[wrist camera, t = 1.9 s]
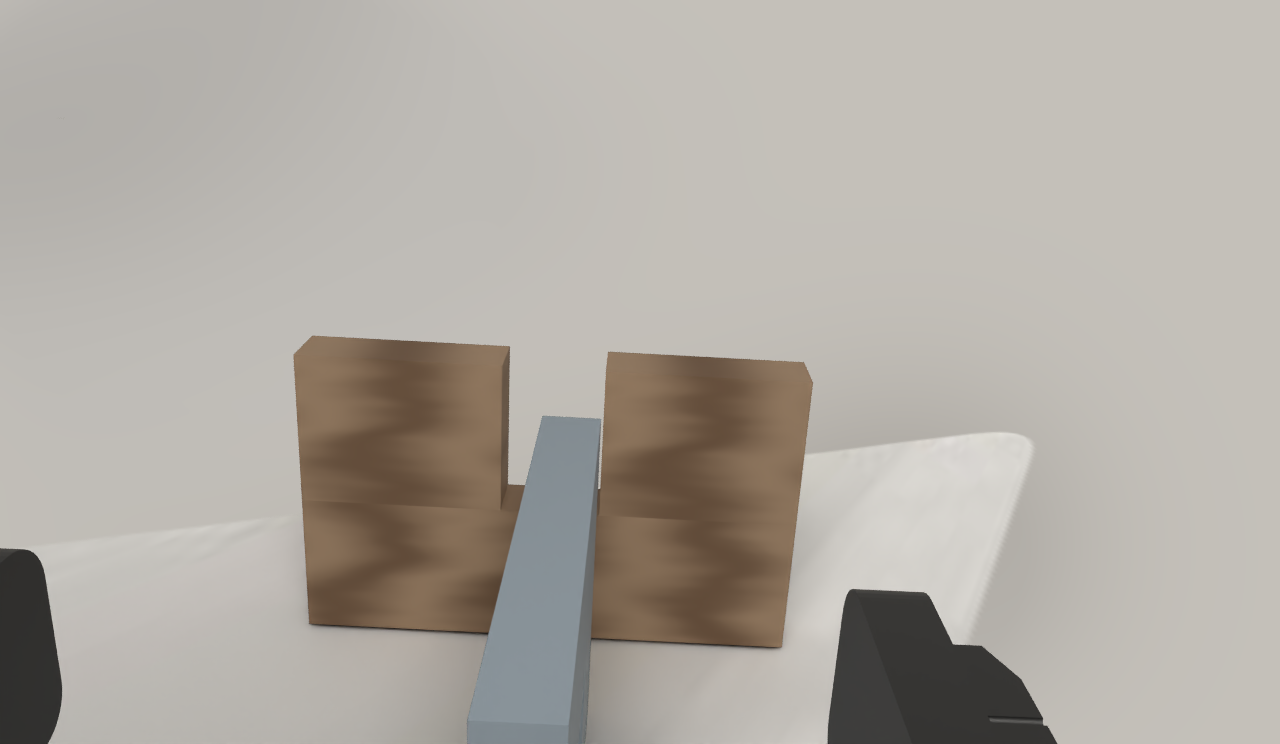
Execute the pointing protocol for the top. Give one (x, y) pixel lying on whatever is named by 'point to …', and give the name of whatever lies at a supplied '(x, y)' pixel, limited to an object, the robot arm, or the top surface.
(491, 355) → the walnut board
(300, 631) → the top surface
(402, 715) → the top surface
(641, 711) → the top surface
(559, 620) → the slate plate
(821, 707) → the top surface
